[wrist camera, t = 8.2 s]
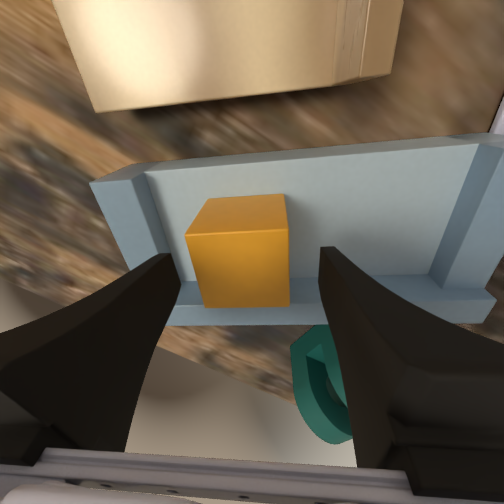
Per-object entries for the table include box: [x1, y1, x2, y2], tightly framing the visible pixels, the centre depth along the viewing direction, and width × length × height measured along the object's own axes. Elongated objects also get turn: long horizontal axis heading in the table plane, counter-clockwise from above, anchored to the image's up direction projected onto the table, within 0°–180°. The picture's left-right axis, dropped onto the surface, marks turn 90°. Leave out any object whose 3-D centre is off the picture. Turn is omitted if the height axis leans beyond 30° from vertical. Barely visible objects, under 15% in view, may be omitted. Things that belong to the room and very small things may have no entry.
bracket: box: [290, 324, 353, 444], centre depth 22 cm, size 18×7×8 cm, turn 59°
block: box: [184, 194, 290, 308], centre depth 13 cm, size 4×4×4 cm
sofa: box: [89, 132, 504, 326], centre depth 15 cm, size 22×10×6 cm, turn 95°
